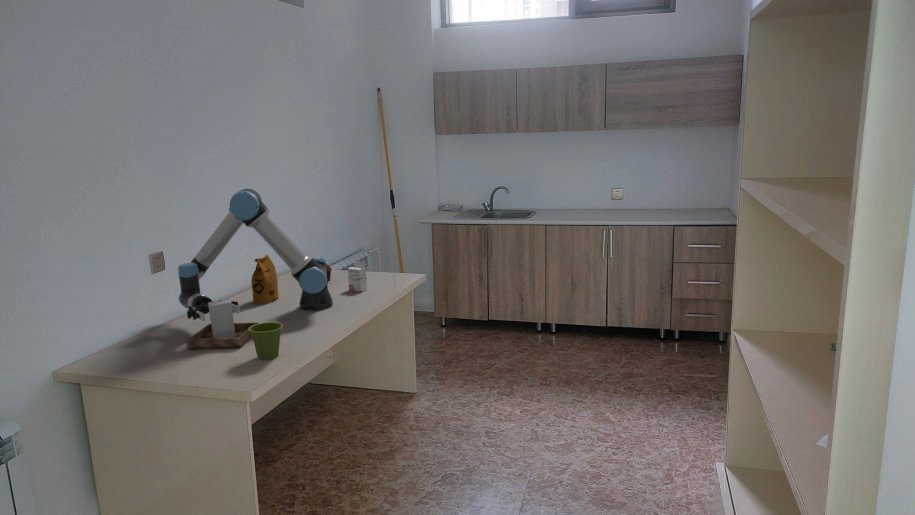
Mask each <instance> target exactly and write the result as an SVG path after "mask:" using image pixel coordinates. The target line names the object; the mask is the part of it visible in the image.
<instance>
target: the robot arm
mask: <svg viewBox="0 0 915 515" xmlns="http://www.w3.org/2000/svg"><path fill="white" fill-rule="evenodd" d="M269 211H270V209H269V208H268V207H267V206H266V205H265V203H264V202H263V201H262V196H261V195H260V193H258V192H257V191H256V190H254V189H252V188H251V189H250V188H243V189H240V190H238V191H237V192H235V193H234V195H232V196H231V198H230V201H229V207H228V213H227V214H226V215H225V217H224V219H222V221H221V223H220V224H218V226H217V227H216V229H215V230H213V232H212V234H211V235H210V237H209V238H208V239H207V240H206V242H205V243H204V244H203V246H202V247H201V248H200V249H199V250H198V252H197V253H196V255H194V257H193V259H192V260H191V261H190V262H186V263H181V264H179V265H178V267H177V269H178V272H177V273H178V277H179V278H178V279H179V285H180V286H179V287H180V294H179V296H178V301H179V304H180V305H182V307H184V308H186V309H188V310H187V311H186V315H187V319H189V320H190V319H192V318H193V321H196V320H197V319H198V320H201V321H203V322H206V315H208V314H210V313H209V307H208V303H209V302H214V301H213V300H212V299H211V298H210V297H208V296H207V295H204V294H202V293H201V287H200V279H201V278H203V277H204V276H205V274H206V272H207V271H208V270H209V269H210V267H211V265H212V264H213V263H214V262H215V260H216V259H217V258H218V256H219V255H221V253H222V251H223V250H224V249H225V247H226V246H227V245H228V243H229V242H230V241H231V240H232V239H233V237H234V236H235V234H237V232H239V229H240V228H241V227H242V226H243V224H244V225H245V226H246V227H247V228H253V230H255V232H257V233H258V235H259V236H260V237H261V238H262V239H263V240H264V242H265V243H266V244H267V245H268V246H270V248H271V249H272V250H273V251H274V252H275V253H276V255H278V256H279V258H280V259H281V260H282V261H283V262H284V263H285V265H287V266H288V267H289V269H290V270H291V271H290V272H291V273H290V274H291V276H292V277H293V278H294V279H295V280H296V281H297V282H298V285H299V287H300V288H301V290H302V291H301V294H300V300H299V309H300V310H303V311H319V310H320V309H321V310H326V309H329V308H331V307H333V305H334V304H333V303H334V302H333V299H332V296H331V294H330V291H329V288H328V287H329V286H328V282H327V272H326V264H327V262H326V261H327V260H326V258H325V257H321V256H320V257H319V256H317V257H312V256H307V255H306V254H305V253H304V252H303V251H302V249H301V248H299V246H298V245H297V244H296V242H294V241H293V240H292V239H291V238H290V237H289V235H288V234H287V233H286V232H285V231H284V230H283V229H282V228H281V227H280V225H279V224H278V223H277V222H276V221H275V220H274V218H273V217H271V215H269V214H270V212H269ZM221 300H222V299H220V300H219V299H218V301H221ZM230 301H231V306H232V312H234V313H236V314H240V306H239V301H234V300H230ZM328 307H329V308H328ZM325 308H326V309H325Z"/></svg>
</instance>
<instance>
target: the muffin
mask: <svg viewBox="0 0 915 515" xmlns="http://www.w3.org/2000/svg"><path fill="white" fill-rule="evenodd" d="M326 272H327V283H329V282H328V281H330V282H331V278H332V277H331V274H332V267H331V266H330V265H329V264H327V263H326Z"/></svg>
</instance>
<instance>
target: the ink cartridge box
mask: <svg viewBox="0 0 915 515" xmlns="http://www.w3.org/2000/svg"><path fill="white" fill-rule="evenodd" d="M347 276H348V280H347V281H348V290H349V291H352V290H354V292H358V291H362V292H365V291H368V284H367V283H368V282H367V268H366V262H364V261H357V260H353V266H351V267H348V268H347ZM364 290H365V291H364Z"/></svg>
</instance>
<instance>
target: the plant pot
mask: <svg viewBox="0 0 915 515" xmlns="http://www.w3.org/2000/svg"><path fill="white" fill-rule="evenodd" d="M283 327H284V325H283V323H280V322H277V321H272V322H271V321H270V322H269V321H268V322H267V321H266V322H262V323H259V322H258V324H256V325H253V326H251V327H249V329H248V330H249V331H250V332H251V336H252V337H253V338H252V341H253V345H254V348H255V352H256V355H257V356H256V357H257V358H258V359H259V360H267V361H269V360H273V359H276V358H277V357H278V356H279V355H280V354H279V353H280V345H281V344H280V342H281V335H282V328H283Z"/></svg>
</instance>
